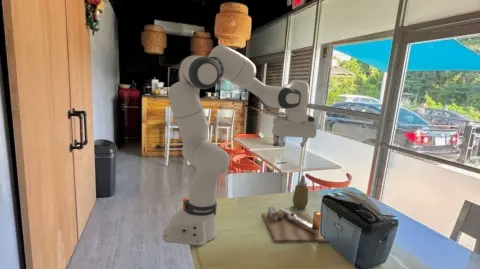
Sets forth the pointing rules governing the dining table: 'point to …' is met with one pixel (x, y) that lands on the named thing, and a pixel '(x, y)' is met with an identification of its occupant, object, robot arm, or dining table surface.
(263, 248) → the dining table surface
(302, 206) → the squeeze bottle
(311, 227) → the lever
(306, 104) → the robot arm
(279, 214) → the tan wooden ball
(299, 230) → the walnut board
